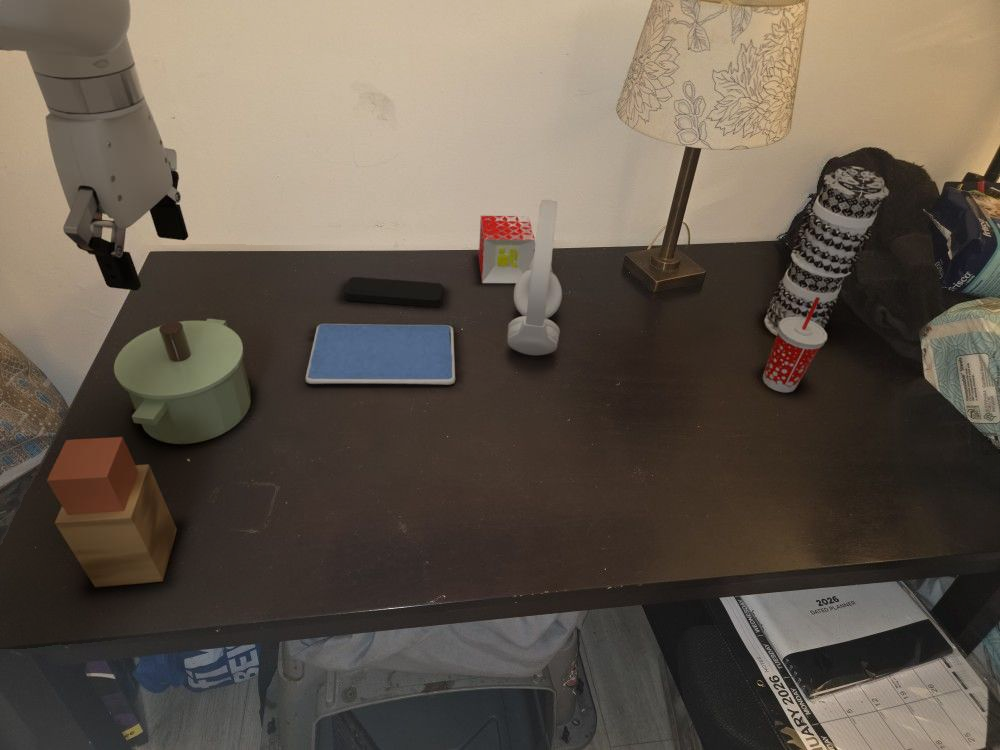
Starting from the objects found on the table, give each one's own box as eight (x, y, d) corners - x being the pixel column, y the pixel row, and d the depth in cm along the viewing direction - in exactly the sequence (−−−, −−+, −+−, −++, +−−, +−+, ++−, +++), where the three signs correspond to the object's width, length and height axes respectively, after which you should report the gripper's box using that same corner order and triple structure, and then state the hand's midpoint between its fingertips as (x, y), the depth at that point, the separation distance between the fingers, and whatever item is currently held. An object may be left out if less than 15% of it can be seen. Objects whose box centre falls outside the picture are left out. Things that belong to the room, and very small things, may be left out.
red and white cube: (481, 283, 105) (484, 239, 100) (478, 257, 111) (480, 215, 105) (530, 283, 106) (535, 240, 100) (524, 258, 112) (529, 216, 106)
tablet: (453, 330, 95) (453, 323, 94) (455, 387, 85) (455, 380, 84) (318, 329, 93) (317, 322, 92) (305, 388, 83) (303, 380, 82)
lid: (262, 335, 80) (255, 300, 76) (214, 410, 70) (202, 374, 66) (155, 322, 80) (143, 287, 77) (91, 395, 70) (74, 358, 67)
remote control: (444, 292, 103) (349, 282, 102) (444, 283, 102) (348, 273, 101) (441, 310, 99) (342, 300, 98) (441, 301, 98) (342, 290, 97)
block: (124, 510, 56) (106, 476, 53) (66, 515, 55) (46, 480, 52) (138, 470, 59) (122, 436, 56) (84, 474, 58) (66, 439, 55)
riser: (163, 581, 62) (131, 517, 55) (94, 587, 61) (54, 523, 54) (177, 529, 66) (149, 464, 60) (113, 534, 65) (78, 468, 59)
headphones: (559, 303, 102) (577, 182, 89) (554, 378, 88) (575, 248, 75) (514, 297, 102) (525, 176, 89) (502, 372, 88) (514, 241, 75)
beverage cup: (798, 371, 93) (838, 289, 83) (804, 399, 88) (847, 316, 79) (754, 364, 93) (789, 281, 84) (758, 391, 89) (796, 307, 80)
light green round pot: (274, 366, 86) (264, 320, 81) (214, 468, 72) (198, 420, 67) (181, 355, 86) (166, 308, 82) (105, 454, 73) (81, 405, 68)
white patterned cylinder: (762, 304, 105) (822, 154, 89) (821, 318, 103) (894, 167, 87) (760, 335, 99) (824, 179, 82) (823, 351, 97) (902, 194, 81)
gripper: (106, 54, 62) (157, 217, 73) (-23, 118, 49) (63, 305, 60) (183, 62, 61) (222, 225, 73) (73, 129, 48) (142, 314, 60)
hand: (150, 261), depth 66 cm, fingers open, 9 cm apart
